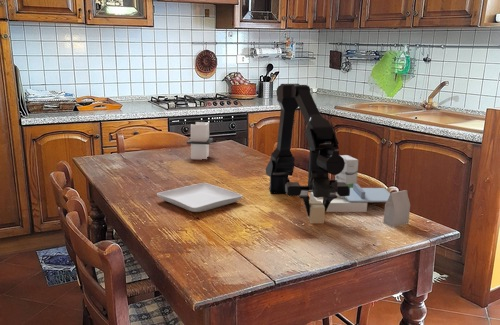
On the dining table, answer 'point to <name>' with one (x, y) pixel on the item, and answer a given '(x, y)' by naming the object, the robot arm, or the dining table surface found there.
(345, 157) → the ink box
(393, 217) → the grey tapered upright block
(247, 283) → the dining table surface
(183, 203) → the salad plate
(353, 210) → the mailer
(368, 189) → the lid
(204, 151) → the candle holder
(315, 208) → the block
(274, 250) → the dining table surface
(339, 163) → the robot arm
